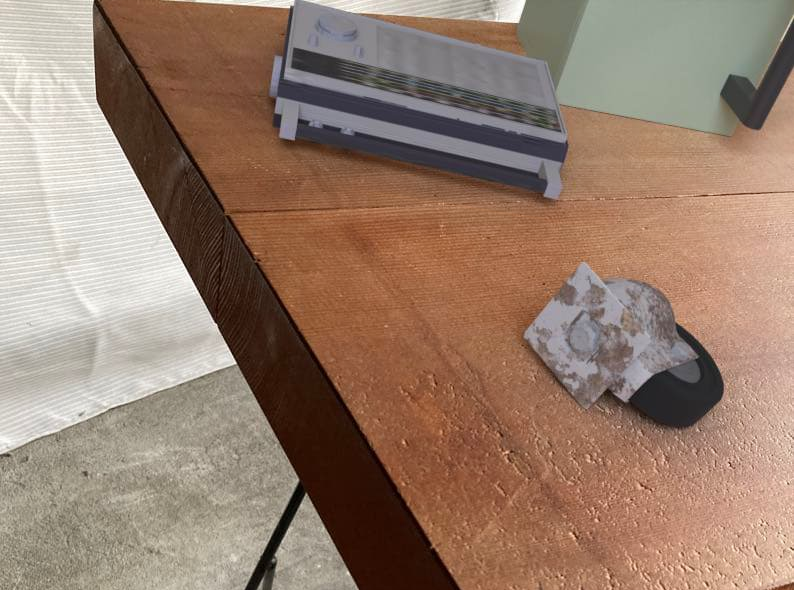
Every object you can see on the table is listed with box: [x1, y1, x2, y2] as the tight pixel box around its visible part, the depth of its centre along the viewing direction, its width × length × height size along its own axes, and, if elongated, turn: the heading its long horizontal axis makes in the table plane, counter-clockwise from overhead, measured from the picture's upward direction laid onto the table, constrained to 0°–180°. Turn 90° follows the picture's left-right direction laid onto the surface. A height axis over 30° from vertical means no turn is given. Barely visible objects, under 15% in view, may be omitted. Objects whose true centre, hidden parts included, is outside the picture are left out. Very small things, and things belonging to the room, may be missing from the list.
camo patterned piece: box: [523, 261, 725, 429], centre depth 64 cm, size 7×11×10 cm
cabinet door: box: [554, 0, 794, 137], centre depth 88 cm, size 8×20×22 cm, turn 98°
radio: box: [268, 0, 570, 200], centre depth 83 cm, size 24×5×20 cm
